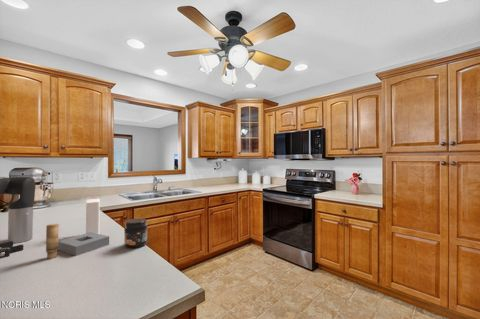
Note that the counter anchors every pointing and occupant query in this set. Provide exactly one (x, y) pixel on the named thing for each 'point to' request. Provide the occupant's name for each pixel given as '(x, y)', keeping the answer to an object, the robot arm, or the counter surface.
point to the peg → (52, 240)
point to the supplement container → (135, 233)
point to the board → (83, 243)
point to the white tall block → (92, 214)
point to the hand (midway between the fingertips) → (17, 245)
